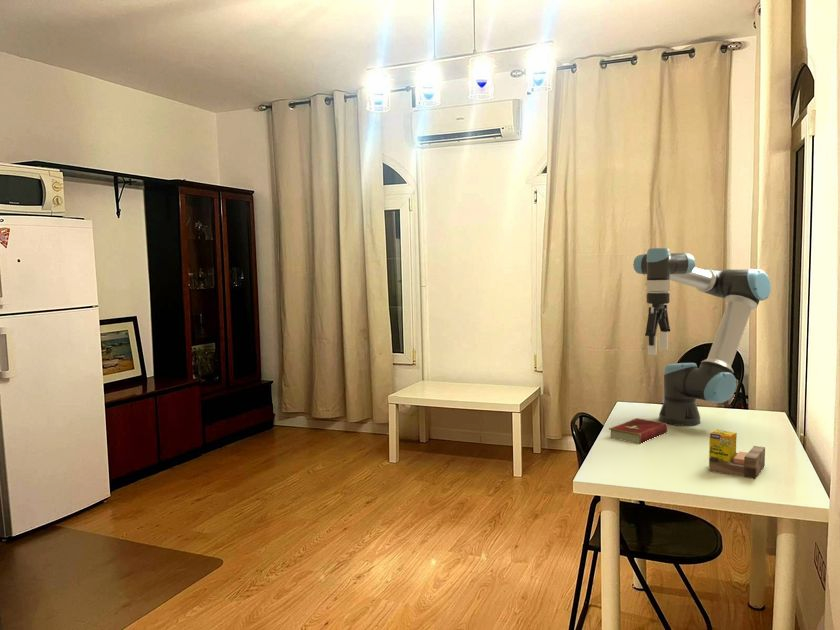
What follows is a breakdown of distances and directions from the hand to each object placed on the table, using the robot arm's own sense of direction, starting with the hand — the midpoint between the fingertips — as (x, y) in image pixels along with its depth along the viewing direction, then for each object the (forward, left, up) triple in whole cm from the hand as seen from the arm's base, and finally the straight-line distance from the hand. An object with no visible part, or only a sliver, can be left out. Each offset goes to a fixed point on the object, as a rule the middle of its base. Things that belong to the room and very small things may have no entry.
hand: (658, 352), depth 225 cm
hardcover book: (-1, -7, -32) cm, 32 cm away
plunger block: (+20, +32, -31) cm, 49 cm away
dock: (+20, +30, -31) cm, 48 cm away
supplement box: (+22, +26, -31) cm, 46 cm away
